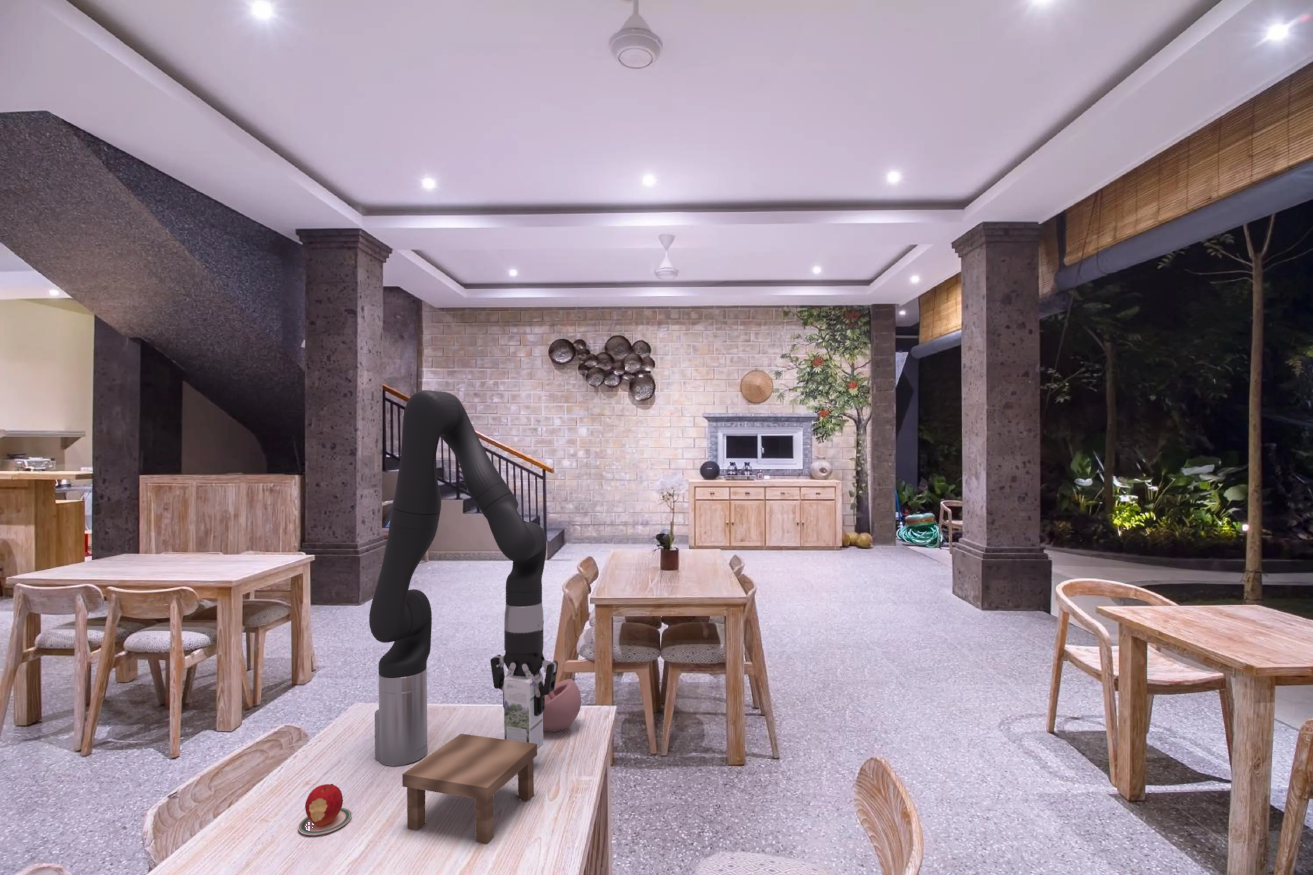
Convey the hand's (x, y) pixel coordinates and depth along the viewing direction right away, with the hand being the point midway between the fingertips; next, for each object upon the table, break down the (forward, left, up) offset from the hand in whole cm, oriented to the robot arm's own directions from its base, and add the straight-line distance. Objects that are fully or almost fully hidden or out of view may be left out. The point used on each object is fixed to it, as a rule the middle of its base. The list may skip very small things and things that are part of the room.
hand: (523, 712), depth 126 cm
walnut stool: (-1, -16, -11) cm, 19 cm away
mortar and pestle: (-3, +18, -11) cm, 21 cm away
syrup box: (0, 0, -7) cm, 7 cm away
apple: (-23, -26, -11) cm, 36 cm away
